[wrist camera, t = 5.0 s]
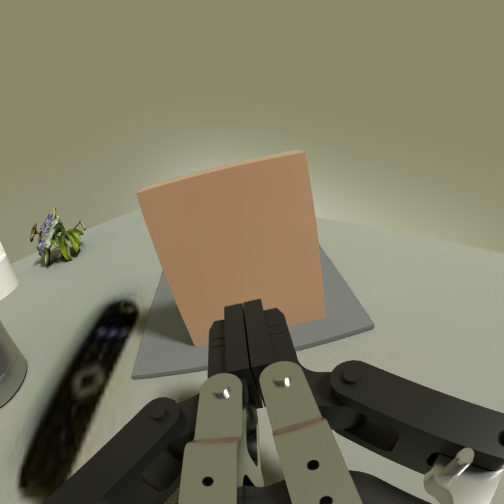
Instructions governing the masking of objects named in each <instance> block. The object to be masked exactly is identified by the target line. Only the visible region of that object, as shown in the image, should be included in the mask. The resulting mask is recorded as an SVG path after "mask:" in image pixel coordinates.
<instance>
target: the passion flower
mask: <svg viewBox="0 0 504 504" xmlns="http://www.w3.org/2000/svg"><path fill="white" fill-rule="evenodd" d="M59 222H60V217H59V216H57V217H56V208H55V207H54V208H53V209H52V214H51V215H50V214H49V215H48V217H47V220H45V222H44V224H43V225H42V228H40V229H41V231H40V232H38V231H37V230H36V226H37V223H35V224H34V226H33V229H32V230H31V237H30V241H31V242H32V241H33V237H34V235H35V234H39V238H38V241H39V243H38V246H37V250H38V251H39V255H40V256H41V257H44V258H45V265H49V264H50V254H51V252H50V248H51V246H52V244H54V245H55V247H57V248H60V251H61V252H62V254H63V256H64V257H65V259H66V260H71V261H72V257H71V254H70V247H69V245H68V243H67V240H68V241H70V243H71V245H72V246H73V248H74V250H75V251H76V253H77V252H78V249H79V247H80V245H81V238H80V236H79V235H84V233H83V232H82V231H79V230H77V229H76V227H77V226H78V225H79V224H80V223H81V224H82V226H83V228H84V230H86V227H85V225H84V223H83V220H81V221H80V222H79V223H78V224H77V225H76V227H75V228H73V229H70V230H68V231H67V232H66V231H65V228H64V227H63V224H62V222H61V223H59ZM59 232H62V233H61V236H57V234H58V233H59ZM65 234H66V235H65ZM57 237H58V241H57ZM65 238H66V239H67V240H66V239H65ZM58 244H59V245H58Z"/></svg>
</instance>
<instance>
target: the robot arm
mask: <svg viewBox="0 0 504 504" xmlns="http://www.w3.org/2000/svg"><path fill="white" fill-rule="evenodd" d="M243 306H244V307H243ZM208 348H209V350H208V379H207V380H206V381H205V382H204V383H203V385H202V387H201V389H200V393H199V394H197V395H196V396H194V397H192V398H190V399H188V400H185V401H183V402H180V403H178V404H177V403H176V402H175V401H174V400H173V399H170V398H165V397H163V398H157V399H154V400H152V401H150V402H149V403H148V404H147V405H146V406H145V407H143V408H142V409H141V410H140V411H139V412H138V413H137V414H136V415H135V416H134V417H133V418H132V419H131V420H130V421H129V422H128V423H127V424H126V425H125V426H124V427H123V428H122V429H121V430H120V431H119V432H118V433H117V434H116V435H115V436H114V437H113V438H112V439H111V440H110V441H109V442H108V443H107V444H106V445H104V446H103V447H102V448H101V449H100V450H99V451H98V452H97V453H96V454H95V455H94V456H93V457H92V458H91V459H90V460H89V461H88V462H87V463H85V464H84V465H83V466H82V467H81V468H80V469H79V470H78V471H77V472H76V473H75V474H74V475H73V476H71V477H70V478H69V479H68V480H67V481H66V482H65V483H64V484H63V485H62V486H60V487H59V488H58V489H57V490H56V491H55V492H54V493H53V494H52V495H50V496H49V497H48V498H47V499H46V500H45V501H44V502H43V503H42V504H163V503H164V502H165V501H166V500H167V499H168V498H169V497H170V496H171V495H172V494H173V493H174V492H175V491H176V490H177V488H178V487H179V486H180V491H179V501H178V503H177V504H431V503H429V502H426V501H424V500H422V499H420V498H418V497H415V496H413V495H411V494H409V493H407V492H405V491H403V490H401V489H399V488H397V487H395V486H393V485H391V484H389V483H387V482H385V481H383V480H381V479H379V478H377V477H375V476H373V475H370V474H367V473H363V472H359V471H351V470H348V468H347V466H346V463H345V461H344V459H343V456H342V454H341V452H340V449H339V447H338V445H337V442H336V440H335V437H334V435H333V433H332V430H331V429H333V430H334V431H335V432H336V433H338V434H340V435H341V436H343V437H345V438H347V439H349V440H351V441H353V442H355V443H357V444H359V445H361V446H363V447H365V448H367V449H369V450H371V451H373V452H375V453H377V454H379V455H381V456H383V457H385V458H387V459H389V460H392V461H394V462H396V463H398V464H400V465H403V466H405V467H407V468H410V469H412V470H414V471H417V472H419V473H422V474H424V475H425V476H424V488H425V490H426V491H427V493H428V494H430V495H431V496H433V497H435V498H436V499H437V500H438V501H439V503H440V504H489V503H490V501H491V499H492V497H493V495H494V493H495V491H496V488H497V486H498V484H499V481H500V479H501V476H502V474H503V471H504V413H500V412H497V411H494V410H491V409H488V408H485V407H482V406H479V405H476V404H473V403H470V402H467V401H464V400H461V399H458V398H455V397H452V396H450V395H447V394H444V393H441V392H439V391H436V390H433V389H430V388H428V387H425V386H422V385H420V384H417V383H415V382H412V381H409V380H407V379H404V378H402V377H399V376H397V375H394V374H392V373H389V372H387V371H384V370H382V369H379V368H377V367H374V366H372V365H369V364H367V363H365V362H362V361H356V360H352V361H346V362H343V363H341V364H339V365H338V366H336V367H335V368H334V369H333V371H332V372H314V371H310V370H308V369H306V368H304V367H303V366H302V365H301V364H300V363H299V361H298V359H297V355H296V352H295V349H294V345H293V342H292V339H291V335H290V333H289V329H288V326H287V322H286V319H285V316H284V314H283V313H282V312H281V311H280V310H279V309H278V308H272V309H268V310H263V305H262V301H261V298H260V299H256V300H251V301H247V302H243V304H242V303H238V304H234V305H229V306H225V307H224V319H223V320H218V321H214V322H213V324H212V326H211V328H210V330H209V343H208ZM26 370H27V362H26V359H25V358H24V356H23V355H22V353H21V352H20V351H19V349H18V348H17V346H16V345H15V343H14V342H13V340H12V339H11V337H10V336H9V334H8V333H7V331H6V329H5V328H4V326H3V324H2V323H1V321H0V407H1V406H2V405H4V404H5V403H6V402H7V401H8V400H9V399H10V398H11V397H12V396H13V395H14V394H15V392H16V391H17V390H18V388H19V387H20V385H21V383H22V381H23V379H24V377H25V374H26ZM261 397H262V398H261ZM262 400H263V403H264V406H265V407H266V409H267V412H268V416H269V420H270V423H271V427H272V431H273V437H274V441H275V445H276V449H277V452H278V456H279V460H280V463H281V467H282V470H283V474H284V477H285V480H282V481H280V482H278V483H275V484H273V485H270V486H267V487H264V481H263V477H262V473H261V463H260V440H259V425H258V417H257V410H256V409H258V408H263V405H262Z"/></svg>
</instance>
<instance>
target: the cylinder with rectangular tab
mask: <svg viewBox="0 0 504 504" xmlns="http://www.w3.org/2000/svg"><path fill="white" fill-rule="evenodd" d="M18 283H19V280H18V278H17V276H16V274H15V272H14V270H13V268H12V266H11V264H10V262H9V260H8V257H7V255H6V254H5V251H4V249H3V247H2V245H1V242H0V300H1V299H3V298H4V297H6V296H7V295H8V294H9V293H11V292H12V291H13V290H14V289H15V288H16V286H17V285H18Z"/></svg>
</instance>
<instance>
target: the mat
mask: <svg viewBox="0 0 504 504" xmlns="http://www.w3.org/2000/svg"><path fill="white" fill-rule="evenodd" d="M319 251H320V260H321V269H322V279H323V289H324V300H325V311H326V317H325V318H322V319H318V320H314V321H311V322H307V323H303V324H299V325H295V326H291V327H288V329H289V333H290V335H291V339H292V342H293V345H294V349H295V351H298V350H302V349H305V348H309V347H313V346H317V345H320V344H324V343H328V342H331V341H335V340H338V339H341V338H345V337H348V336H351V335H355V334H358V333H361V332H364V331H367V330H370V329H373V328H374V323H373V322H372V320H371V319H370V317H369V316H368V314H367V313H366V311H365V310H364V308H363V307H362V305H361V304H360V302H359V301H358V299H357V298H356V296H355V295H354V293H353V292H352V290H351V289H350V288H349V286H348V285H347V283H346V282H345V280H344V279H343V277H342V276H341V275H340V273H339V272H338V270H337V269H336V268H335V266H334V265H333V263H332V262H331V260H330V259H329V258H328V256H327V255H326V254H325V252H324V251H323V249H322V248H321V247H320V245H319ZM208 350H209V348H208V345H203V346H197V347H195V345H194V343H193V341H192V338H191V336H190V334H189V332H188V329H187V327H186V325H185V323H184V320H183V318H182V316H181V313H180V311H179V308H178V306H177V304H176V301H175V299H174V296H173V294H172V292H171V289H170V287H169V284H168V282H167V279H166V276H165V274H164V271H163V273H162V276H161V279H160V282H159V285H158V288H157V291H156V294H155V297H154V300H153V303H152V307H151V310H150V313H149V316H148V320H147V323H146V326H145V330H144V333H143V337H142V340H141V344H140V347H139V351H138V355H137V358H136V362H135V366H134V370H133V373H132V377H133V378H134V379H142V378H151V377H160V376H168V375H175V374H182V373H189V372H195V371H202V370H208Z"/></svg>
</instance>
